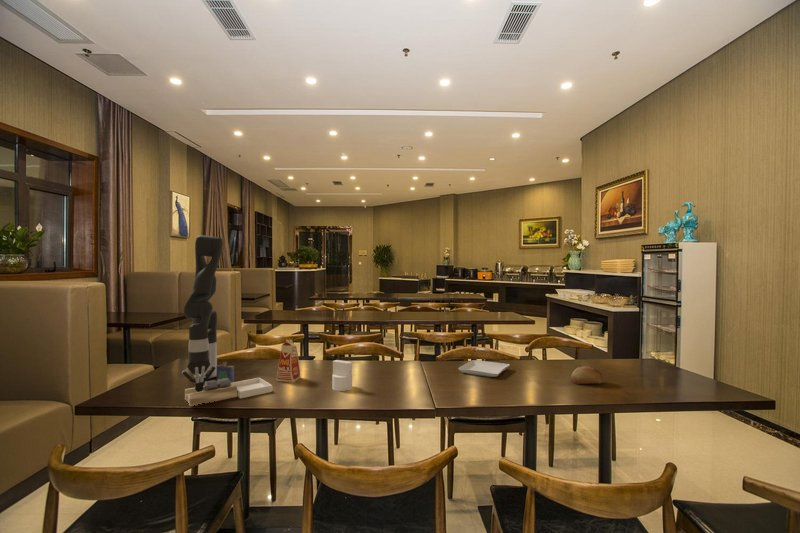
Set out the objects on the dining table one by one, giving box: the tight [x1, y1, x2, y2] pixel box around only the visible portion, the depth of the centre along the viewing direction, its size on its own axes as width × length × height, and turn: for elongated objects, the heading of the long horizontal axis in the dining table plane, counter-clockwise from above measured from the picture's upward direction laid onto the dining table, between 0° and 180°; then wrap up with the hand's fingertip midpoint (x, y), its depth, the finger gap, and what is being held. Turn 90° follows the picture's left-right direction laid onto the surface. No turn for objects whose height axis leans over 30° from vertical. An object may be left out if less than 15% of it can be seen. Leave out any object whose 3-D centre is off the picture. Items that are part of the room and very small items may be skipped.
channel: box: [184, 382, 238, 407], centre depth 170 cm, size 10×18×4 cm, turn 129°
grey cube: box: [204, 379, 218, 391], centre depth 170 cm, size 4×4×4 cm
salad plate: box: [458, 359, 511, 378], centre depth 210 cm, size 21×21×3 cm
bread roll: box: [570, 365, 605, 385], centre depth 189 cm, size 10×15×8 cm, turn 90°
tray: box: [231, 377, 274, 399], centre depth 180 cm, size 16×14×3 cm
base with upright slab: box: [331, 359, 353, 392], centre depth 184 cm, size 9×9×12 cm
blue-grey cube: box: [217, 378, 230, 389], centre depth 173 cm, size 4×4×4 cm
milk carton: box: [275, 338, 301, 383], centre depth 198 cm, size 9×9×20 cm
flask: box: [215, 361, 235, 383], centre depth 188 cm, size 9×3×11 cm, turn 74°
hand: (199, 391), depth 167 cm, fingers closed
